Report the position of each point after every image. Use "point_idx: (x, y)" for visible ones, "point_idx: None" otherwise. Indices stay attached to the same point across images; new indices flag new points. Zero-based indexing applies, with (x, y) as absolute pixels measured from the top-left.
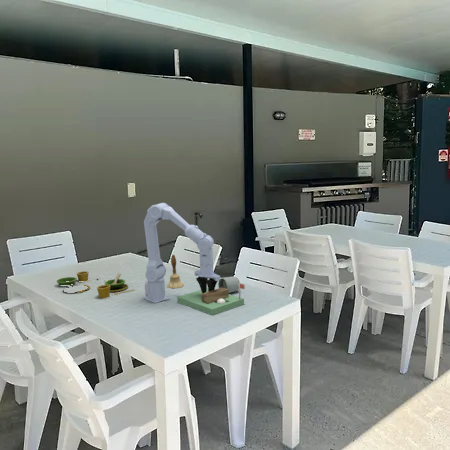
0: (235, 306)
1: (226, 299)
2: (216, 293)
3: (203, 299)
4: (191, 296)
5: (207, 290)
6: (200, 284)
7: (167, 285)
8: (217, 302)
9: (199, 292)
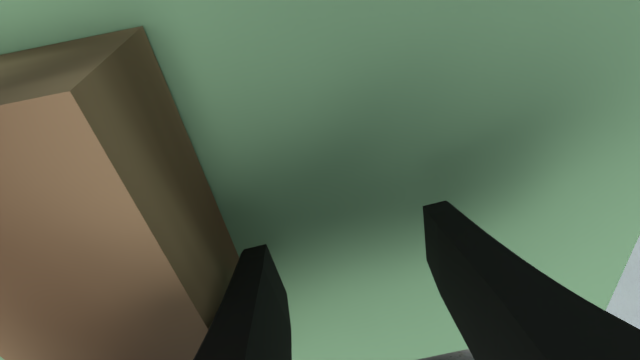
0: None
1: None
2: (18, 353)
3: (54, 57)
4: (564, 14)
5: None
6: (546, 331)
7: None
8: None
9: (580, 201)
